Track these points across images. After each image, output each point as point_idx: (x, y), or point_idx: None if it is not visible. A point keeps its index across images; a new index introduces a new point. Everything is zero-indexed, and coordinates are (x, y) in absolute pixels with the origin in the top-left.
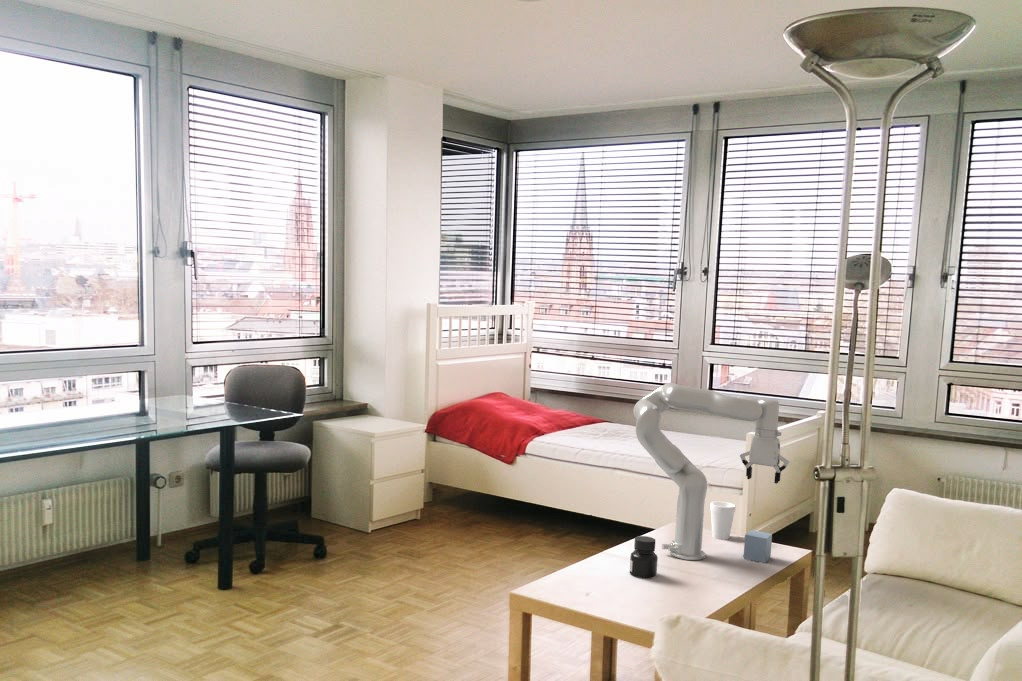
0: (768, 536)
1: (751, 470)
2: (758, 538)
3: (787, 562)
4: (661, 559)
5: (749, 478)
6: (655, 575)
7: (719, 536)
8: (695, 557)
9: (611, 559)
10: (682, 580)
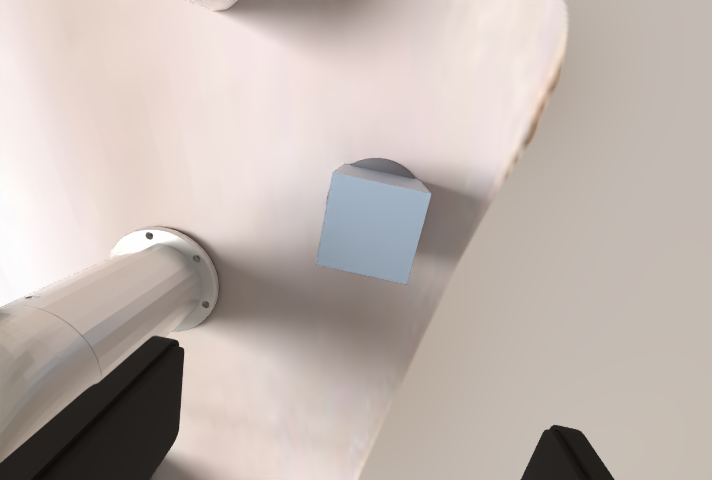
0: (414, 245)
1: (91, 468)
2: (372, 274)
3: (477, 206)
4: None
5: (174, 438)
6: (151, 476)
7: (208, 8)
8: (196, 325)
9: None
10: (212, 469)
